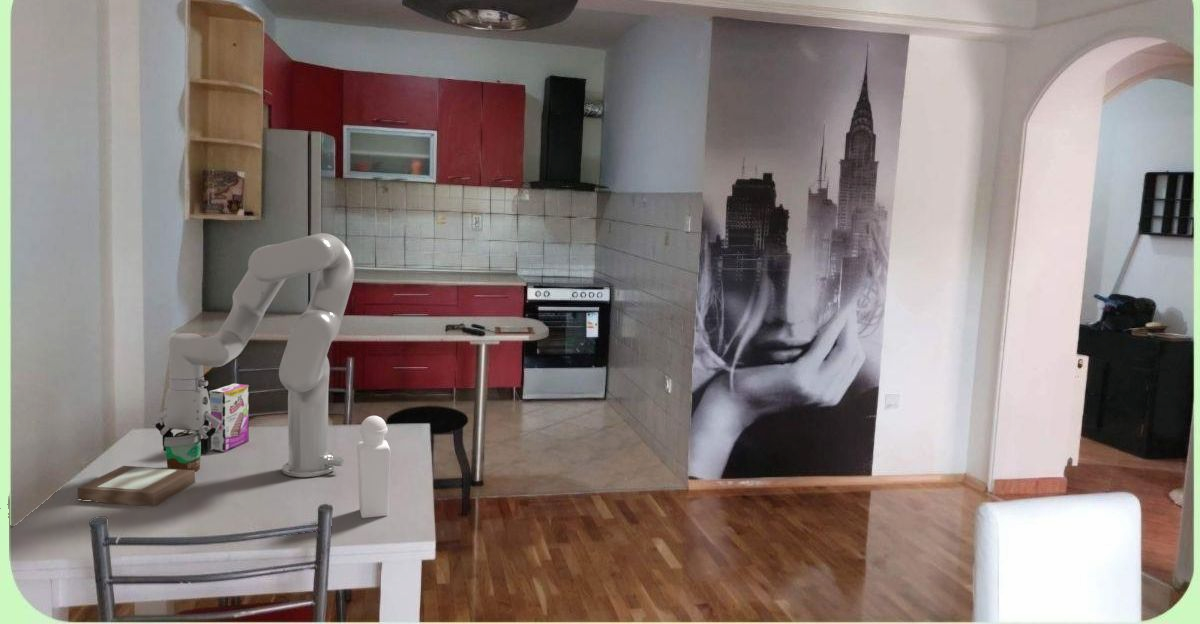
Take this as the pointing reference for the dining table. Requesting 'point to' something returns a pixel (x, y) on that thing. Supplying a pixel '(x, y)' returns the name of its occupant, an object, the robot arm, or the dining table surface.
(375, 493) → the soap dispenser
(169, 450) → the food container
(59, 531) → the dining table surface
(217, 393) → the candy bar box
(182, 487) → the plinth
